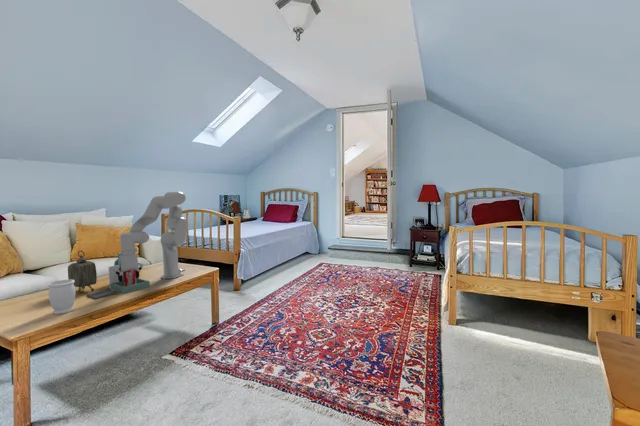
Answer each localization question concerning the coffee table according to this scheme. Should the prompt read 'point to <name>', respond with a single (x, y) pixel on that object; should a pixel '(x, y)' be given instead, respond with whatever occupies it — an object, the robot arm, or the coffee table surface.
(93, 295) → the mat
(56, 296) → the jar
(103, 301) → the coffee table surface
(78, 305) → the coffee table surface
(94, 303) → the coffee table surface
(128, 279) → the soda can
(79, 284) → the tabletop clock
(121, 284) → the tray
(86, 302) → the coffee table surface
